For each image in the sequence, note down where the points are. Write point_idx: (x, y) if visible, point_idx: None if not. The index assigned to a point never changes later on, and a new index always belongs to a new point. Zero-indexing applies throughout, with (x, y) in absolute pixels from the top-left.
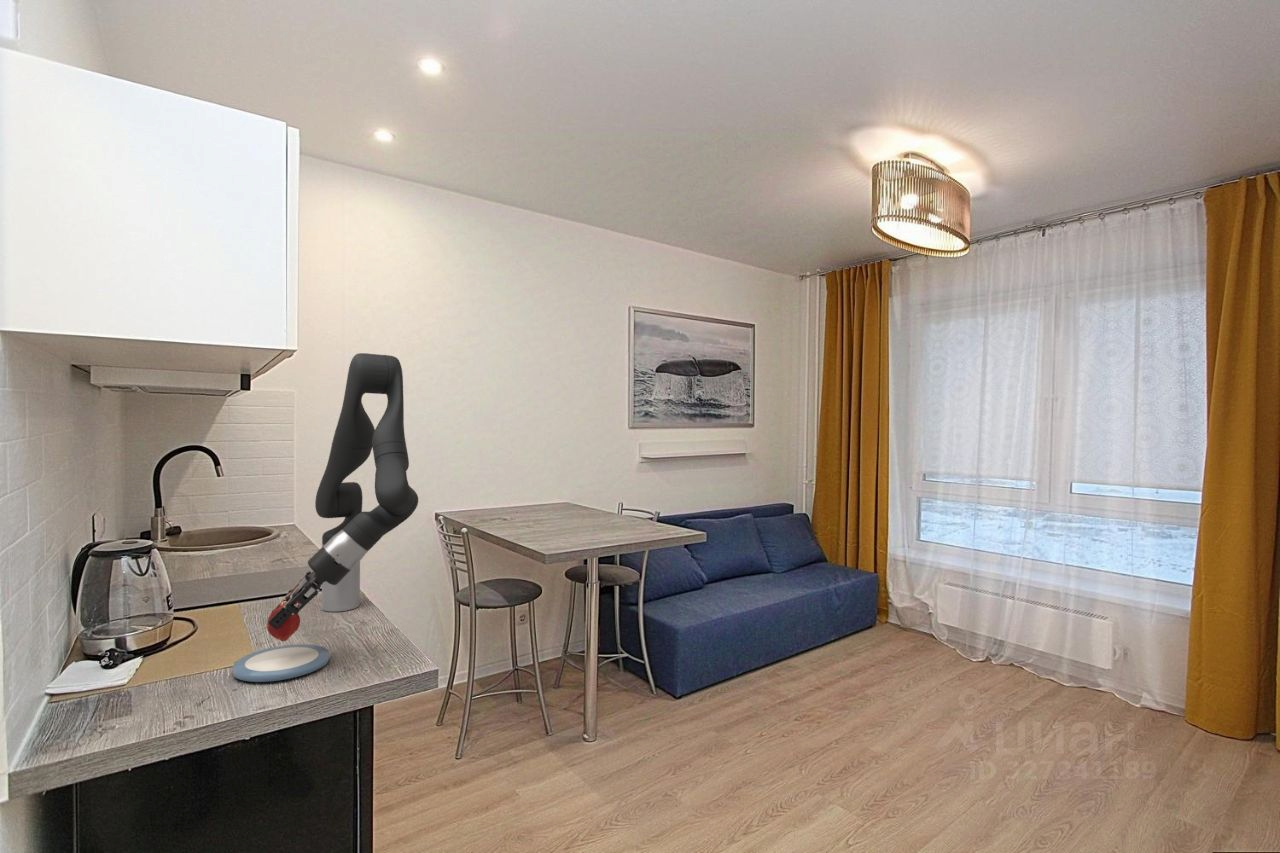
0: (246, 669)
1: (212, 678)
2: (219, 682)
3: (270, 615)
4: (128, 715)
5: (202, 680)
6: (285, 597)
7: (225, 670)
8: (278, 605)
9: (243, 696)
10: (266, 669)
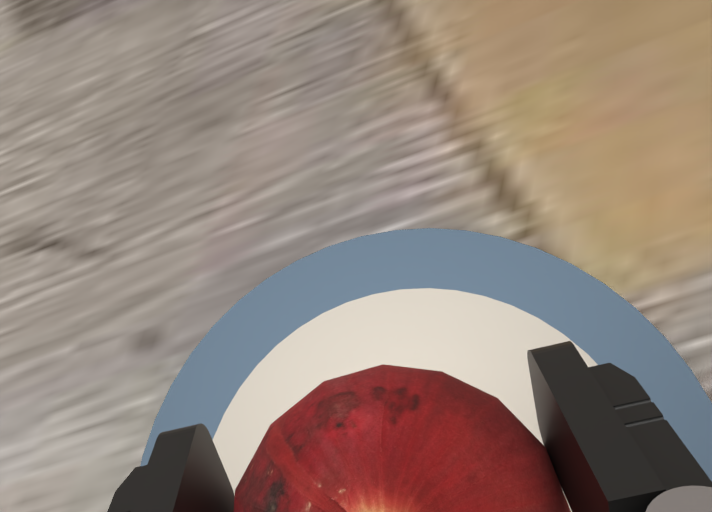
0: (272, 335)
1: (341, 174)
2: (274, 228)
3: (324, 397)
4: (18, 34)
5: (325, 139)
6: (676, 506)
7: (450, 192)
8: (583, 417)
9: (39, 414)
10: (229, 462)
